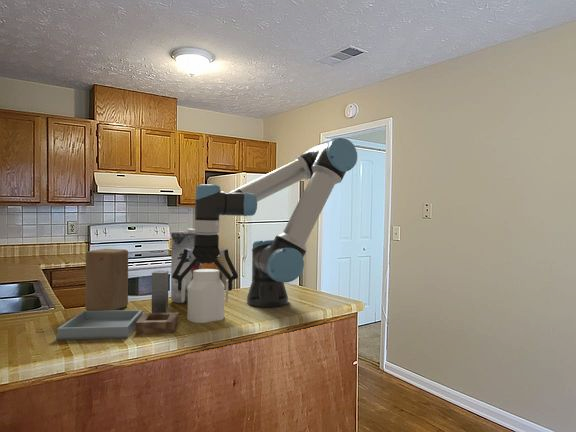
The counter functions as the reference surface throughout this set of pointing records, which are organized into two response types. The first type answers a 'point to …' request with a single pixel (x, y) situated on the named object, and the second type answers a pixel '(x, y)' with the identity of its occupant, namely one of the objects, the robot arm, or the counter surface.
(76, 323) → the tray
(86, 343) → the counter surface
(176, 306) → the counter surface
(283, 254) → the robot arm
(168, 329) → the hollow square tube
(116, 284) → the wooden block
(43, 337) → the counter surface
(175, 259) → the juice carton
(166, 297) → the grey block
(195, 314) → the jar
